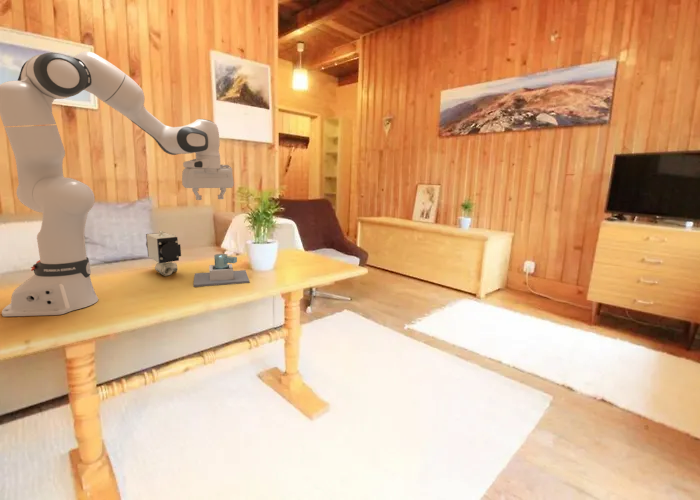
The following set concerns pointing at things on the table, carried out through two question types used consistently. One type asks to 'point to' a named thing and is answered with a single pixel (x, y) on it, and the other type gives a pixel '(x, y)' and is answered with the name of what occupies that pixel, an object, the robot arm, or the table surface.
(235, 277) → the grey base plate
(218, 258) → the elbow
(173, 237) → the ball valve
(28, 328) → the table surface
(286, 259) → the table surface
